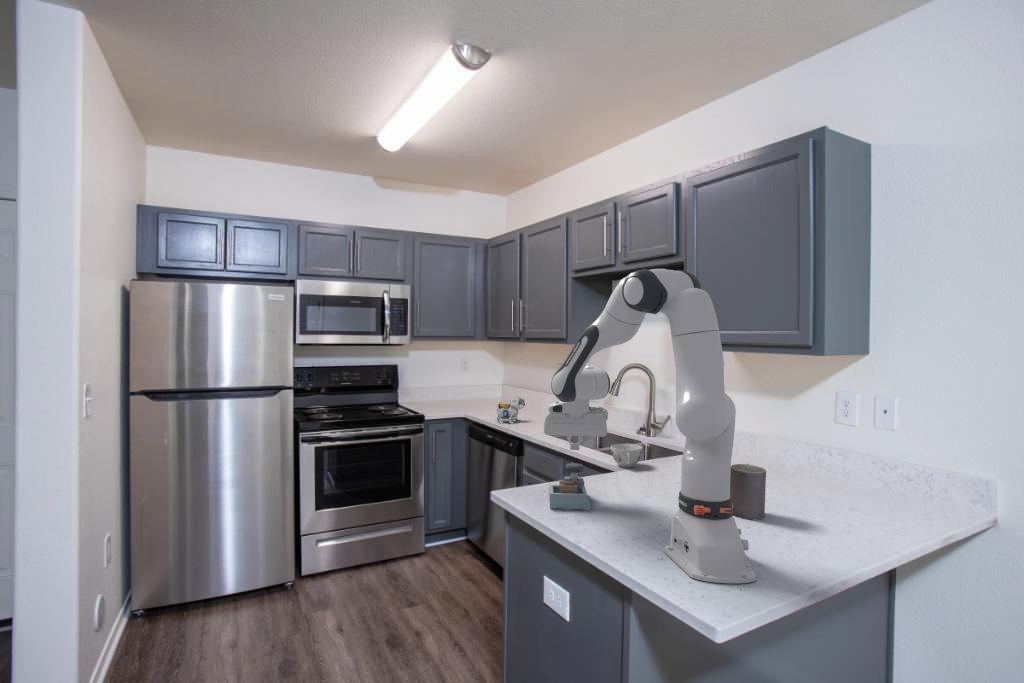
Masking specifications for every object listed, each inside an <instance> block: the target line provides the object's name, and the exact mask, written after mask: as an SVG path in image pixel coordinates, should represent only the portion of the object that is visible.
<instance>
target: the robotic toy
mask: <svg viewBox="0 0 1024 683" xmlns="http://www.w3.org/2000/svg"><path fill="white" fill-rule="evenodd" d="M504 400H505V399H504ZM504 400H502V401H504ZM502 401H500V402H499V404H498V405H497V409H496V412H497V416H496V419H497V421H498V420H499V421H498V423H499V424H501V423H503V424H504V421H505V420H507V421H508V423H509V424H510V423H513V424H514V422H513V421H515V422H516V423H520V422H522V420H521V419H518V415H519V410H521V409H523V408H524V407H525V406H526V403H525V399H522V398H521V397H518V396H515V397H512V398H511V399H510V403H506V401H505V402H502Z"/></svg>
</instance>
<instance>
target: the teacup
mask: <svg viewBox="0 0 1024 683" xmlns="http://www.w3.org/2000/svg"><path fill="white" fill-rule="evenodd" d="M643 447H644V446H642V445H639V444H635V443H633V444H632V443H627V442H626V443H616V444H611V445H610V451H611V455H612V458H613V459H614V461H615V463H616V464H617V465H618V466H619V467H621V468H628V469H629V468H634V467H635V466H636V464H638V462H639V461H640V460H641V457H642V454H643V449H644V448H643Z"/></svg>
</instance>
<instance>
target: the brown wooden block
mask: <svg viewBox="0 0 1024 683" xmlns="http://www.w3.org/2000/svg"><path fill="white" fill-rule="evenodd" d="M558 485H559V493H573V494H577V484H576V481H573V479H564V478H563V479H562V480H560V479H559V484H558Z"/></svg>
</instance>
